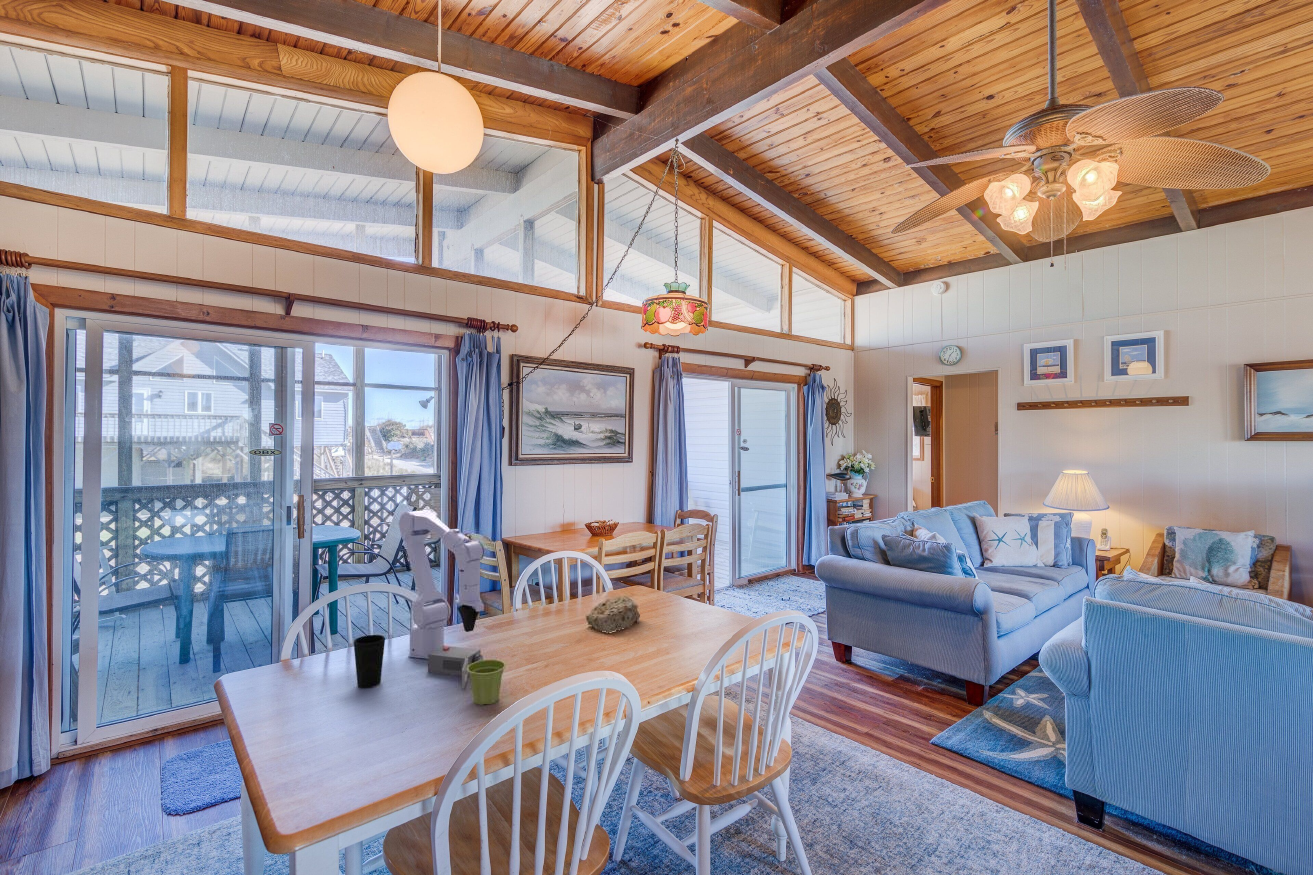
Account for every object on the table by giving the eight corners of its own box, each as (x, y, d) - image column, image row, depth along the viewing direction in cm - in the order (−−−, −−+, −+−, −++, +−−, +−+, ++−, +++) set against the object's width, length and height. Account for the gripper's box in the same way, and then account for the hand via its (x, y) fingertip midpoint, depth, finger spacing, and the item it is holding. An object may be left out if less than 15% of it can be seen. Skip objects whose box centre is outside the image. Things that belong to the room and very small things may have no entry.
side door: (466, 688, 164) (466, 670, 164) (461, 688, 164) (461, 670, 164) (469, 675, 172) (469, 658, 172) (464, 675, 172) (465, 658, 172)
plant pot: (484, 711, 151) (485, 676, 151) (458, 702, 156) (459, 667, 156) (513, 698, 159) (513, 664, 159) (487, 689, 164) (487, 656, 164)
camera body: (427, 672, 175) (428, 652, 175) (443, 662, 183) (443, 643, 183) (471, 677, 172) (471, 656, 172) (485, 667, 179) (485, 647, 179)
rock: (616, 639, 209) (609, 609, 209) (584, 640, 217) (577, 612, 217) (649, 617, 226) (643, 590, 226) (619, 620, 234) (612, 594, 234)
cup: (353, 691, 161) (354, 645, 161) (352, 681, 168) (353, 637, 168) (385, 686, 165) (386, 641, 165) (383, 676, 172) (384, 633, 172)
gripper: (445, 581, 182) (445, 627, 182) (467, 590, 171) (466, 640, 171) (468, 577, 187) (468, 622, 187) (490, 586, 176) (490, 634, 176)
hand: (468, 630), depth 180 cm, fingers closed
